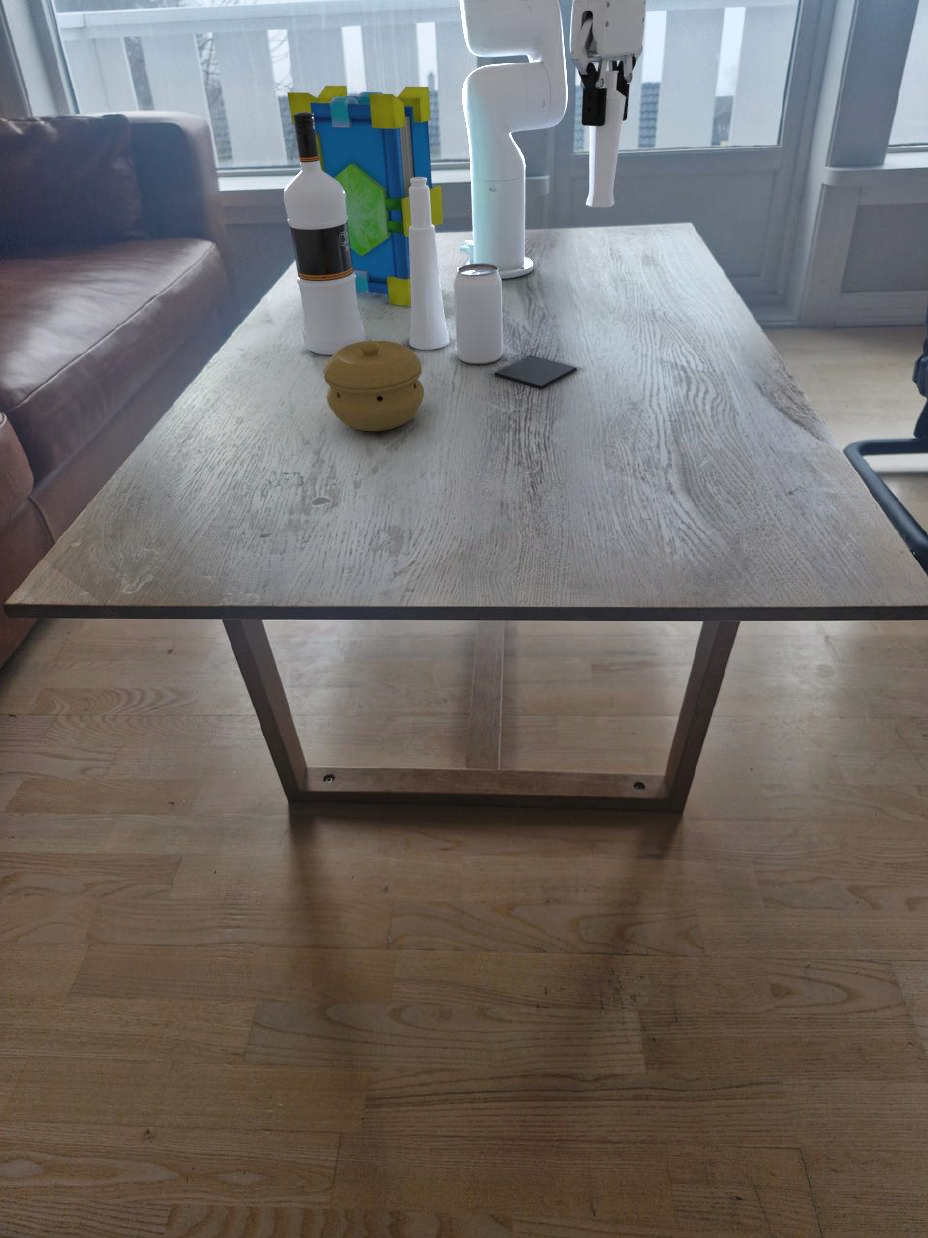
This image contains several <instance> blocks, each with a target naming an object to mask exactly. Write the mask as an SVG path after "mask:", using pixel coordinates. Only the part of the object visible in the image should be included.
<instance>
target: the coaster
mask: <svg viewBox="0 0 928 1238" xmlns="http://www.w3.org/2000/svg"><path fill="white" fill-rule="evenodd" d="M575 371H577V367H576V366H573V365H569V364H565V363H562V362H558V361H554V360H551V359H546V358H543V357H538V356H535V355H531V354H530V355H528V356H526V357H523V358H522V359H519V360H518V361H516V362H513V363H511V364H509V365H507V366H505V367H503V368H501V369H499V370H497V371H494V376H496V377H500V378H503V379H506V380H510V381H514V382H518V383H520V384H523V385H527V386H531V387H533V388H538V389H540V390H541V389H544V388H546V387H547V386H549V385H552V384H553V383H555V382H557V381H559V380H561V379H563V378H564V377H566V376H568V375H570V374H573V372H575Z"/></svg>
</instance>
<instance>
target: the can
mask: <svg viewBox="0 0 928 1238" xmlns="http://www.w3.org/2000/svg"><path fill="white" fill-rule="evenodd" d="M502 284H503V283H502V279H501V278H500V275H499V273H498V267H497V266H495V265H492V264H484V263H477V264H468V265H466V264H464V265H461V266H459V267H457V269H456V276H455V278H454V285H453V288H454V308H455V309H454V311H455V313H454V314H455V330H456V331H455V332H456V351H457V357H458V359H459V360H460V361H461V362H463V363H465V364H468V365H475V366H479V365H481V366H482V365H488V364H493V363H495V362H497V361H499V360H500V359H501V357H502V356H503V285H502Z"/></svg>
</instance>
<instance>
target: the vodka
mask: <svg viewBox="0 0 928 1238" xmlns="http://www.w3.org/2000/svg"><path fill="white" fill-rule="evenodd" d="M293 118H294V125H293V126H294V132H295V138H296V145H297V150H298V151H297V152H298V158H299V165H300V172H298V174H297V175H296V176H295V177H293V179H292V180H291V181H290V183H289V184H287V186H286V187H285V189H284V192H283V203H284V208H285V211H286V215H287V219H286V221H287V224H288V225H289V227H290V235H291V241H292V242H291V243H292V247H293V254H294V259H295V266H296V271H297V278H296V283H297V284H298V289H299V292H300V298H301V307H302V308H301V309H302V321H303V331H302V336H303V343H304V346H305V347H306V348H307V349H308V351H310V352H313V353H314V354H317V355H323V356H333V355H334V354H335V353H336V352H337V351H338V350H340V349H341V348H343V347H345V346H348V345H351V344H354V343H358V342H364V341H366V339H367V333H366V327H365V325H364V323H363V320H362V315H361V311H360V306H359V300H358V294H357V292H356V285H355V278H356V275H355V273H354V272H353V271H354V270H353V261H352V253H351V245H350V237H349V228H348V216H347V212H346V201H345V199H346V194H345V191H344V189H343V187H342V185H341V184H340V183H339V182H338V181H337V180H335V179H334V178H332V177H331V176H330V175H328V174H327V173H325V172H324V171H322V170H321V167H320V162H319V155H318V148H317V141H316V134H315V126H314V121H313V114H312V113H310V112H299V113H296V114H294V115H293Z"/></svg>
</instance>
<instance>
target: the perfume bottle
mask: <svg viewBox="0 0 928 1238" xmlns="http://www.w3.org/2000/svg"><path fill="white" fill-rule="evenodd" d="M618 72H619V71H609V70H606V76H605V82H604V86H603V88H607V99H606V116H605V124H604V125H603V126H589V158H588V159H589V161H588V163H589V165H588V166H589V168H588V169H589V171H588V172H589V173H588V174H589V178H588V179H589V180H588V181H589V183H588V185H589V188H588V189H589V191H588V194H587V195H588V196H587V198H586V202H585V206H588V207H590V208H611V207H613V206H614V205H615V198H614V186H615V178H616V171H617V164H618V157H619V150H620V142H621V136H622V130H623V129H622V128H623V122H624V121H623V115H624V108H625V101H626V97H625V96H624V95H623V94H621V93H620V92H619V91H617V90H616V85H617V73H618Z"/></svg>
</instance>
